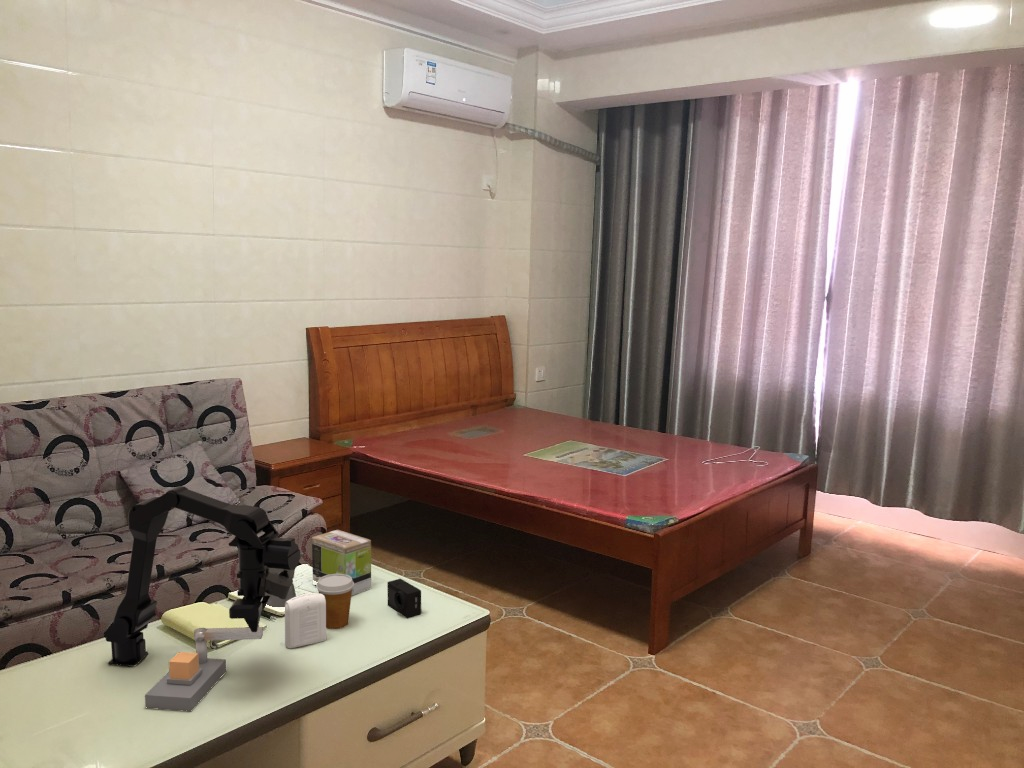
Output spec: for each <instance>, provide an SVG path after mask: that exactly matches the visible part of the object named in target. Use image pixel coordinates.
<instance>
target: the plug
mask: <svg viewBox="0 0 1024 768" xmlns="http://www.w3.org/2000/svg"><path fill="white" fill-rule="evenodd" d="M168 666H169V667H168V668H169V671H170V676H169V677H168V678H167V684H180V685H191V684H192V683H193V682H194V681H195V680H196V679H197V678H198V677H199V676H200V675H201V674H202V673H203V672H202V668H199V656H198V653H196V652H186V651H185V652H183V651H180V652H179V651H178V653H176V655H174V656H173V657H172V658H171V659H170V660H169V661H168Z"/></svg>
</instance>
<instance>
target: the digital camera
mask: <svg viewBox="0 0 1024 768" xmlns="http://www.w3.org/2000/svg"><path fill="white" fill-rule="evenodd" d="M386 586H387V606H388V607H389V608H390V609H392V610H393V611H395V612H397V613H399V614H400V615H402V616H403V617H404V618H407V619H411V618H414V617H417V616H420V615H422V590H421V589H420V588H418V587H416V586H414V585H412V584H411V583H409V582H408V581H405V580H404V579H402V578H398V579H397V578H396V579H394V580H389V581H387V585H386Z"/></svg>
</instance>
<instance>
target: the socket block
mask: <svg viewBox="0 0 1024 768" xmlns="http://www.w3.org/2000/svg"><path fill="white" fill-rule="evenodd" d="M194 642H195V653H198V656H199V668H202V672H203V673H202V674H201V675H200V676H199V677H198V678H197V679H196V680H195V681H194V682H193V683H192V684H191V685H180V684H167V678H168V677H169V676H170V670H168V671H167V672H166V673H165V675H163V677H162V678H161V679H159V681H157V682H156V683H155V684H154V685H153V686H152V687H151V688H150V689H149V691H147V692H146V693H145V694H144V703H145V706H144V707H145V708H146V707H147V708H146V709H150V708H158V709H157V710H164V709H170V710H169V711H178V710H183V711H182V712H192V711H193V710H194V709H195V708H196V707H197V706H198V704H199V703H200V702H201V701H202V700H203V699H202V698H203V697H204V698H205V696H206V695H207V694H208V693H209V692H210V691H211V690H212V689H211V687H212V686H213V685H214V684H215V683H216V682H217V681H218V680H219V681H220V679H221V678H222V677H223V676H224V675H225V674H226V673H227V659H226V658H212V657H208V643H207V642H208V641H201V642H197V641H195V640H194ZM225 672H226V673H225ZM224 673H225V674H224ZM223 674H224V675H223ZM222 675H223V676H222ZM221 676H222V677H221ZM220 677H221V678H220ZM219 681H218V682H219ZM218 682H217V683H218ZM217 683H216V684H217ZM216 684H215V685H216ZM215 685H214V686H215ZM214 686H213V687H214ZM213 687H212V688H213ZM210 689H211V690H210ZM209 690H210V691H209ZM208 691H209V692H208ZM207 692H208V693H207ZM201 699H202V700H201ZM200 700H201V701H200ZM198 702H199V703H198ZM195 706H196V707H195ZM194 707H195V708H194ZM193 708H194V709H193ZM192 709H193V710H192ZM186 710H187V711H186ZM191 710H192V711H191Z"/></svg>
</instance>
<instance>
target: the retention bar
mask: <svg viewBox="0 0 1024 768" xmlns="http://www.w3.org/2000/svg"><path fill="white" fill-rule="evenodd" d="M263 630H264V629H263V626H258V630H257V632H252V631H251V630H250V628H249V626H246V627H245V626H244V627H243V626H242V627H240V626H239V627H211V628H210V627H207V628H206V627H198V628H195V629H194V630H193V639H194V642H195V641H197V642H201V641H207V642H208V641H210V642H211V641H239V640H240V641H242V640H244V641H245V640H262V638H263V636H264V631H263Z"/></svg>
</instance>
